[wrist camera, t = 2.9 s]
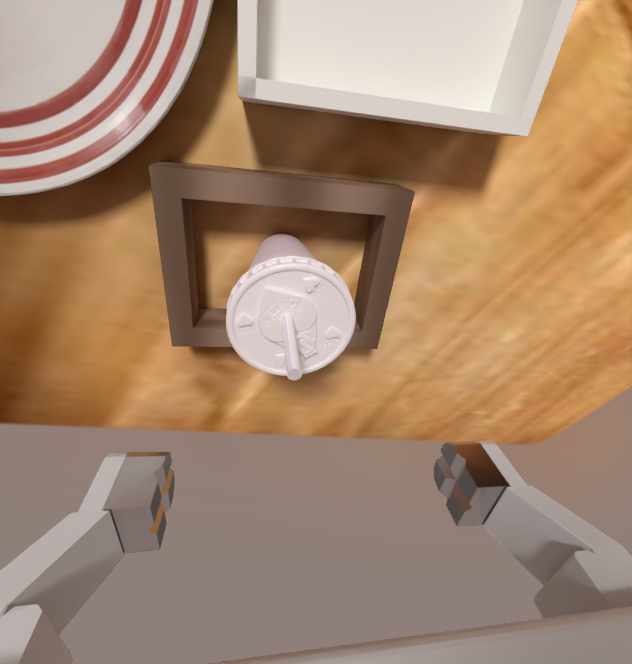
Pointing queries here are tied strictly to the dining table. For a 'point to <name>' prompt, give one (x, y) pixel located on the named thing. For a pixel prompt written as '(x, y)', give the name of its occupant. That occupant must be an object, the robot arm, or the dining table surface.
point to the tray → (404, 59)
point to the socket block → (284, 191)
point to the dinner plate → (87, 82)
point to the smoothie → (289, 310)
